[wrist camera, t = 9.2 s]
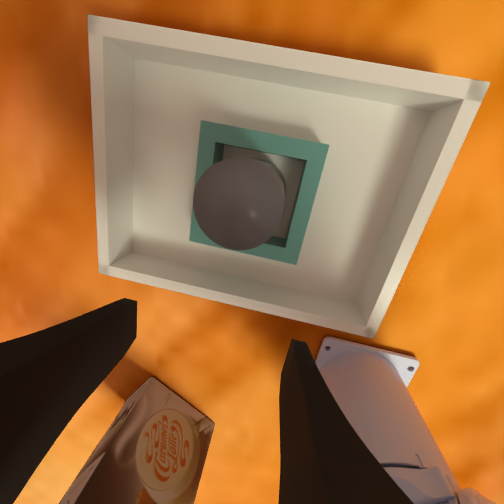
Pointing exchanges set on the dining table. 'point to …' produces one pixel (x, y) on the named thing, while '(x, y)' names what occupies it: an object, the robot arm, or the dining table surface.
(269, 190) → the cylinder
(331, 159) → the walled box
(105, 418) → the dining table surface
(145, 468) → the coffee box
